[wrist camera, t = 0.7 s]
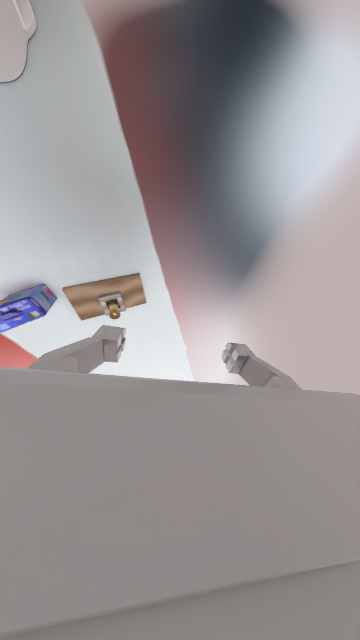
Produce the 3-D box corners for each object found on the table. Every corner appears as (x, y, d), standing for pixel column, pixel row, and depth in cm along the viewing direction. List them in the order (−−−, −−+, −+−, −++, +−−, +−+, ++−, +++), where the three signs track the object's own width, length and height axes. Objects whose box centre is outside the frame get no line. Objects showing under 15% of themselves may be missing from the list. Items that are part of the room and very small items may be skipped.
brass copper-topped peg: (106, 299, 48) (107, 312, 40) (115, 297, 49) (118, 309, 41) (109, 306, 50) (111, 320, 42) (118, 304, 51) (121, 317, 43)
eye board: (62, 287, 42) (60, 292, 39) (138, 273, 50) (140, 276, 47) (81, 318, 49) (80, 324, 46) (145, 301, 57) (147, 305, 54)
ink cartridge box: (43, 282, 39) (22, 302, 28) (58, 298, 43) (44, 321, 32) (4, 295, 37) (-35, 322, 26) (23, 310, 40) (-4, 340, 30)
